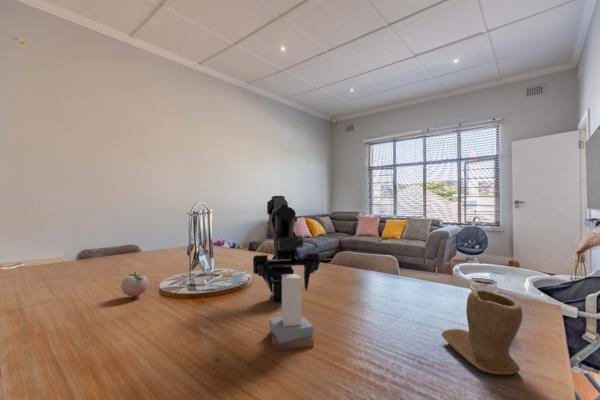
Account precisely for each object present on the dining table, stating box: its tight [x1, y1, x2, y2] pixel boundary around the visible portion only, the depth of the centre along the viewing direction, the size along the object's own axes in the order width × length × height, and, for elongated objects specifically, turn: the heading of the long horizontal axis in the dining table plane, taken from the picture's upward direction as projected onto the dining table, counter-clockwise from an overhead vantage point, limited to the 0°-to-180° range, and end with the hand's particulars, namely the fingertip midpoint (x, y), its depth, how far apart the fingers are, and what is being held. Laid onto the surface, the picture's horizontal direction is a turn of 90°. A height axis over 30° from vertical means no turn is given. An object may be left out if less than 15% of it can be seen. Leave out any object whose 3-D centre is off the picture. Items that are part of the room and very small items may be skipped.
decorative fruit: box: [121, 271, 150, 298], centre depth 106 cm, size 9×8×10 cm
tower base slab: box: [270, 330, 315, 351], centre depth 72 cm, size 10×10×2 cm
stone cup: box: [441, 290, 523, 376], centre depth 62 cm, size 15×12×15 cm
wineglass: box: [469, 277, 499, 294], centre depth 80 cm, size 7×7×12 cm
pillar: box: [281, 273, 302, 326], centre depth 72 cm, size 5×5×12 cm
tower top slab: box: [268, 314, 314, 343], centre depth 72 cm, size 9×9×2 cm
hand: (289, 290), depth 72 cm, fingers open, 9 cm apart
